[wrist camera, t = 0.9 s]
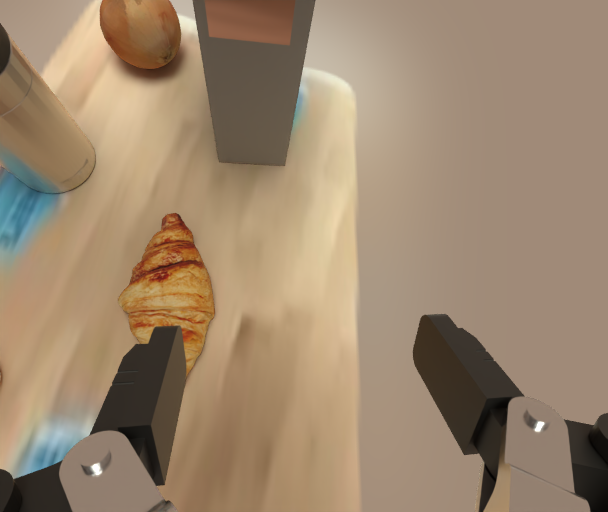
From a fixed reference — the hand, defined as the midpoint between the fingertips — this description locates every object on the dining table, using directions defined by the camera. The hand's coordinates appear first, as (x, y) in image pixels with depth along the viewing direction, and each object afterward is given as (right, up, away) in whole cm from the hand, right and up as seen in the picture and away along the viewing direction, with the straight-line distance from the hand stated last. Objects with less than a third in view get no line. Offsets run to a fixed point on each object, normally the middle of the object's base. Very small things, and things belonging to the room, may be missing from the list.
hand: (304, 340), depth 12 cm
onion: (-22, +32, +40) cm, 55 cm away
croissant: (-16, -3, +32) cm, 36 cm away
